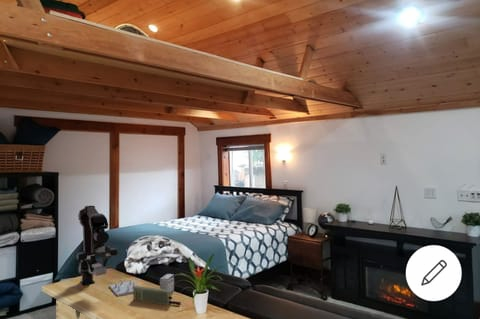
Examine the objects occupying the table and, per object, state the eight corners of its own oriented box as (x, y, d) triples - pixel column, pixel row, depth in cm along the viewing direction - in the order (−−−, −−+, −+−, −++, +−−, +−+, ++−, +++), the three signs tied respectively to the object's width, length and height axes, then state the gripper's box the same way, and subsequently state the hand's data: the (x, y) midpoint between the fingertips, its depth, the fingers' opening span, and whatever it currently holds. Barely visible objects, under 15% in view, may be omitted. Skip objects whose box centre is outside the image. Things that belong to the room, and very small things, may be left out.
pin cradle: (109, 287, 186) (109, 280, 186) (131, 282, 193) (131, 276, 193) (117, 296, 173) (117, 289, 173) (141, 291, 180) (141, 284, 180)
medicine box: (168, 296, 173) (168, 278, 173) (159, 295, 174) (159, 278, 174) (174, 290, 181) (174, 274, 181) (166, 290, 182) (166, 273, 182)
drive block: (88, 272, 177) (88, 264, 177) (98, 269, 180) (98, 262, 180) (96, 276, 171) (96, 268, 171) (106, 273, 174) (106, 266, 174)
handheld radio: (136, 298, 171) (182, 304, 163) (132, 301, 168) (178, 307, 160) (136, 285, 171) (181, 290, 163) (132, 287, 168) (178, 293, 160)
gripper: (80, 245, 164) (80, 278, 163) (121, 240, 174) (120, 271, 174) (76, 241, 173) (76, 272, 173) (114, 236, 184) (114, 266, 183)
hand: (97, 270), depth 175 cm, fingers closed on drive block, 5 cm apart
